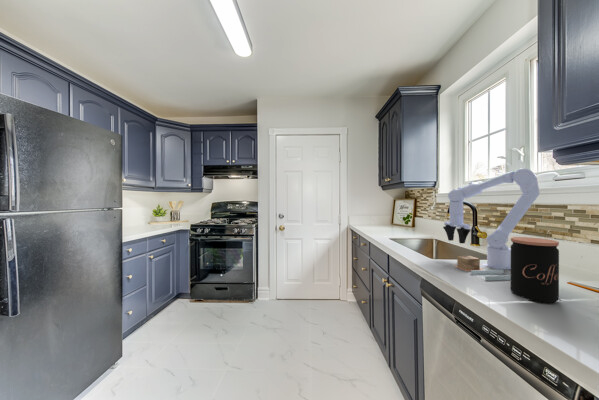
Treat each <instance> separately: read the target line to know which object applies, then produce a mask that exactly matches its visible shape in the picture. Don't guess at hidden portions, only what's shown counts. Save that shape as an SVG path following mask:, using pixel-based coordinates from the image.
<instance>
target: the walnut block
mask: <svg viewBox="0 0 599 400" xmlns="http://www.w3.org/2000/svg"><path fill="white" fill-rule="evenodd" d="M456 259H457V262H456V263H457V264H456V266H458V267H460V268H463V269H465V270H480V269H481V267H480V266H481V265H480V264H481V263H480V261H481V260H480V258H478V257H475V256H472V255H458V256H457V258H456ZM460 268H459V269H460ZM465 270H464V271H465Z"/></svg>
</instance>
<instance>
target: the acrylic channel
mask: <svg viewBox="0 0 599 400" xmlns="http://www.w3.org/2000/svg"><path fill="white" fill-rule="evenodd" d="M504 270H505V269H483V270H472V271H470V275H471V276H473V277H477V278H478V279H480V280H484V281H511V274H510V275H506V274H505V275H503V274H504V273H505V272H504Z"/></svg>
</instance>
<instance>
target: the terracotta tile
mask: <svg viewBox="0 0 599 400" xmlns="http://www.w3.org/2000/svg"><path fill="white" fill-rule="evenodd" d="M454 267H455V268H458V269H460V270H462V271H464V272H471V271H472V270H465V269H463V268H460V267H458V266H457V265H454ZM480 270H484V268H483V269H482V268H480Z"/></svg>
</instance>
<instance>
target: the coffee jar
mask: <svg viewBox="0 0 599 400" xmlns="http://www.w3.org/2000/svg"><path fill="white" fill-rule="evenodd" d="M510 241H511V243H512V244H511V245H510V248H511V269H510V275H511V280H510V291H511V292H512V294H514V295H516V296H518V297H521V298H523V299H526V300H527V301H528V302H532V303H538V304H547V305H553V304H556V302H558V301H559V299H560V298H559V297H560V293H559V292H560V250H559V249H558V248H557V247H558V246H559V244H560V241H558V240H555V239H554V240H553V239H547V238H541V237H539V238H538V237H531V236H530V237H527V236H513V237H510Z"/></svg>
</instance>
